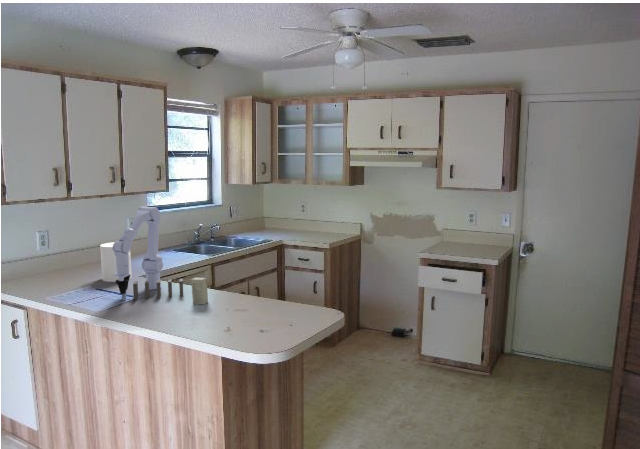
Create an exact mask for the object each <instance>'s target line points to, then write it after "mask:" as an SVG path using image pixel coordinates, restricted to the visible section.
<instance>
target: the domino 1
mask: <svg viewBox="0 0 640 449" xmlns="http://www.w3.org/2000/svg"><path fill="white" fill-rule="evenodd" d="M126 297H127V298H128V295H127V291H126V292H125V294H121V301H126V300H127V298H126Z"/></svg>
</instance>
